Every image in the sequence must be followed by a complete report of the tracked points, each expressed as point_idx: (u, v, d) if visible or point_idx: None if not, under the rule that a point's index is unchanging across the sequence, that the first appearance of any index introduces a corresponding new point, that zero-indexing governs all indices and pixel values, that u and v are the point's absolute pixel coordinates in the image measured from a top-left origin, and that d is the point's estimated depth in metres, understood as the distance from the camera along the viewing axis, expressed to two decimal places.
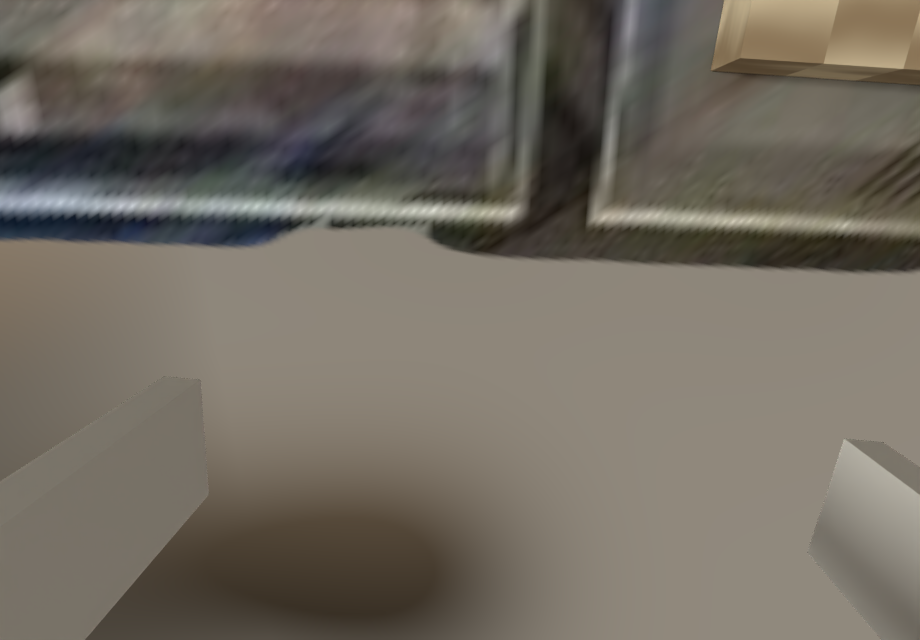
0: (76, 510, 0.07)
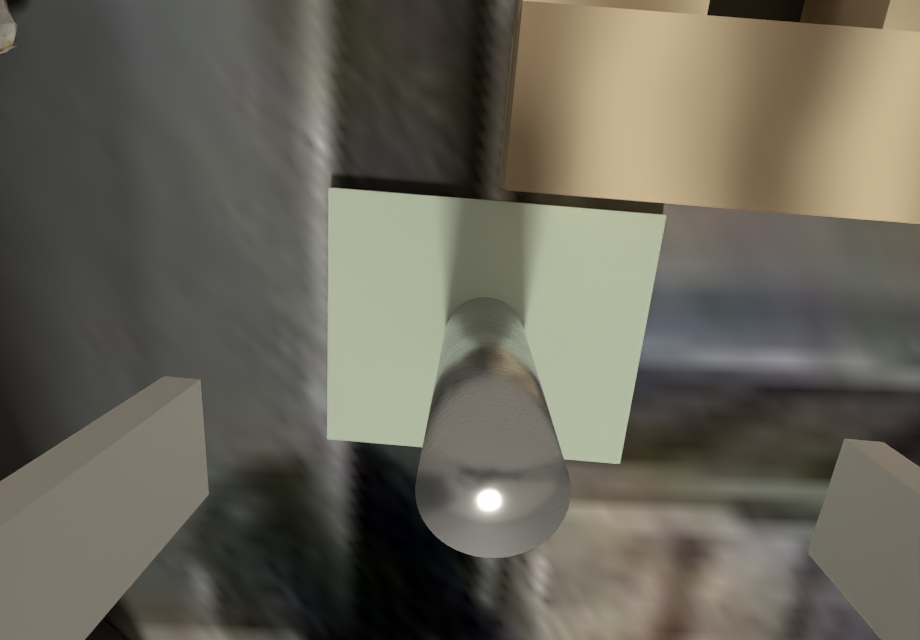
0: (76, 510, 0.07)
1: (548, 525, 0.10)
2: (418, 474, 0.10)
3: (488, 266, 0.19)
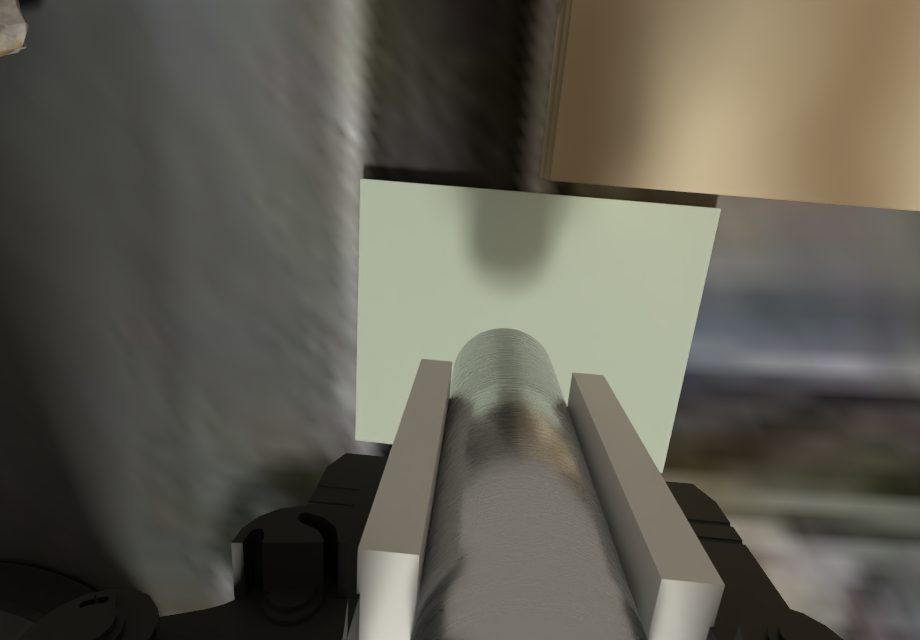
0: (438, 458, 0.09)
1: None
2: None
3: (527, 263, 0.18)
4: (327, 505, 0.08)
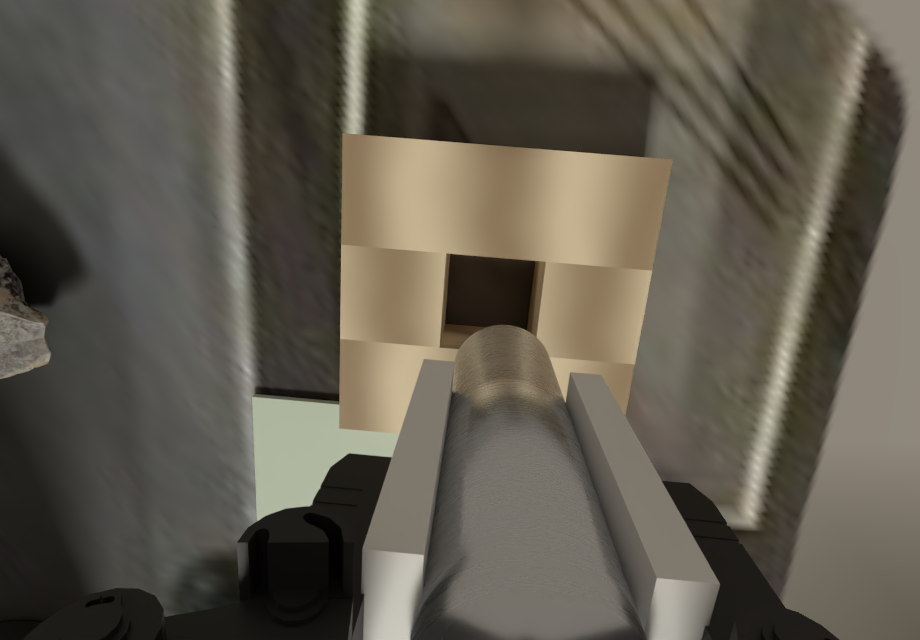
0: (441, 458, 0.09)
1: None
2: None
3: (353, 442, 0.30)
4: (331, 505, 0.08)
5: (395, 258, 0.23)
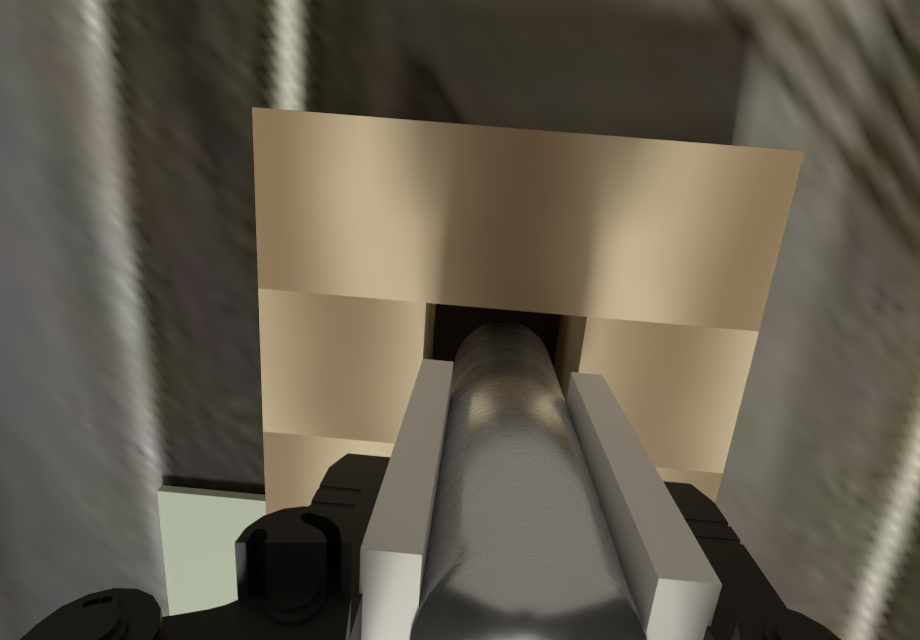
0: (440, 458, 0.09)
1: None
2: (413, 630, 0.06)
3: None
4: (329, 505, 0.08)
5: (345, 310, 0.14)
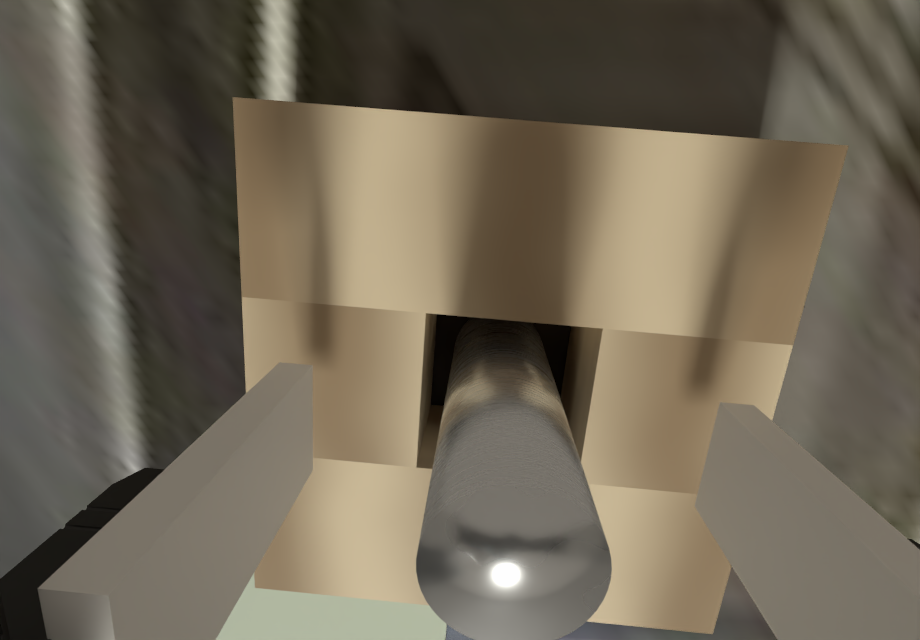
0: (246, 472, 0.08)
1: (582, 610, 0.08)
2: (419, 545, 0.08)
3: None
4: (85, 529, 0.07)
5: (337, 321, 0.13)
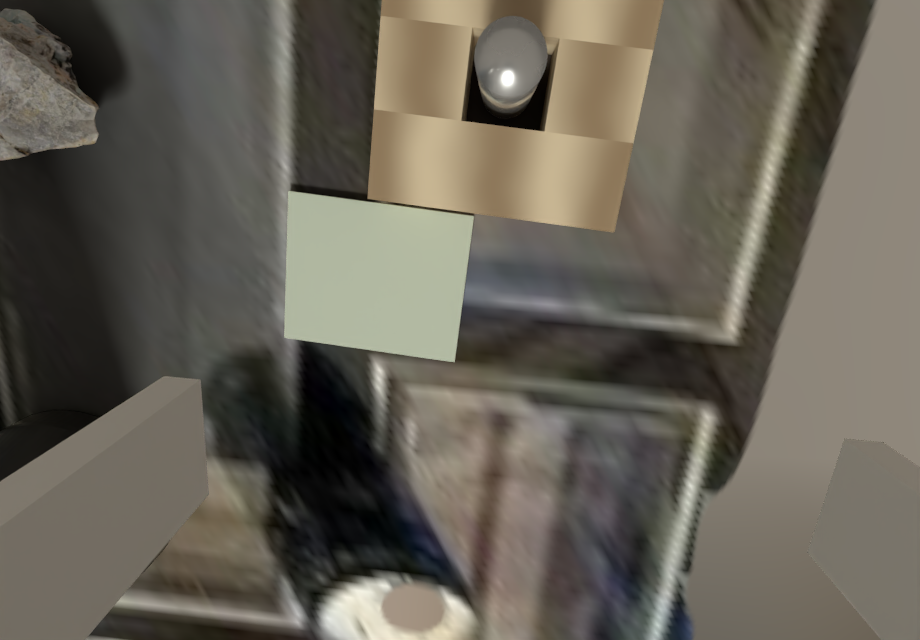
0: (76, 510, 0.07)
1: (536, 76, 0.21)
2: (476, 45, 0.21)
3: (376, 240, 0.33)
4: None
5: (427, 30, 0.26)
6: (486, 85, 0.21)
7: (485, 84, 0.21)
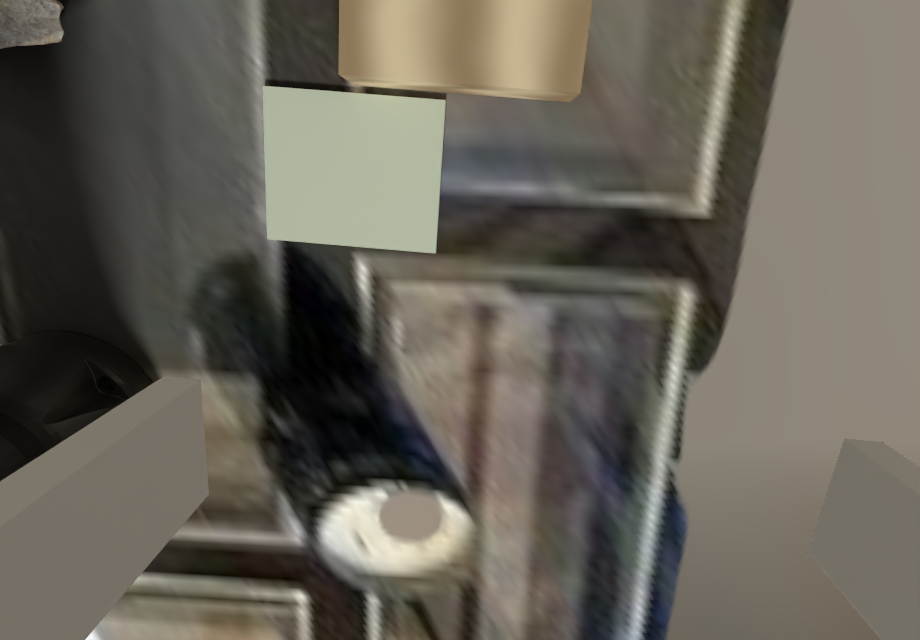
0: (76, 511, 0.07)
1: None
2: None
3: (351, 131, 0.34)
4: None
5: None
6: None
7: None
